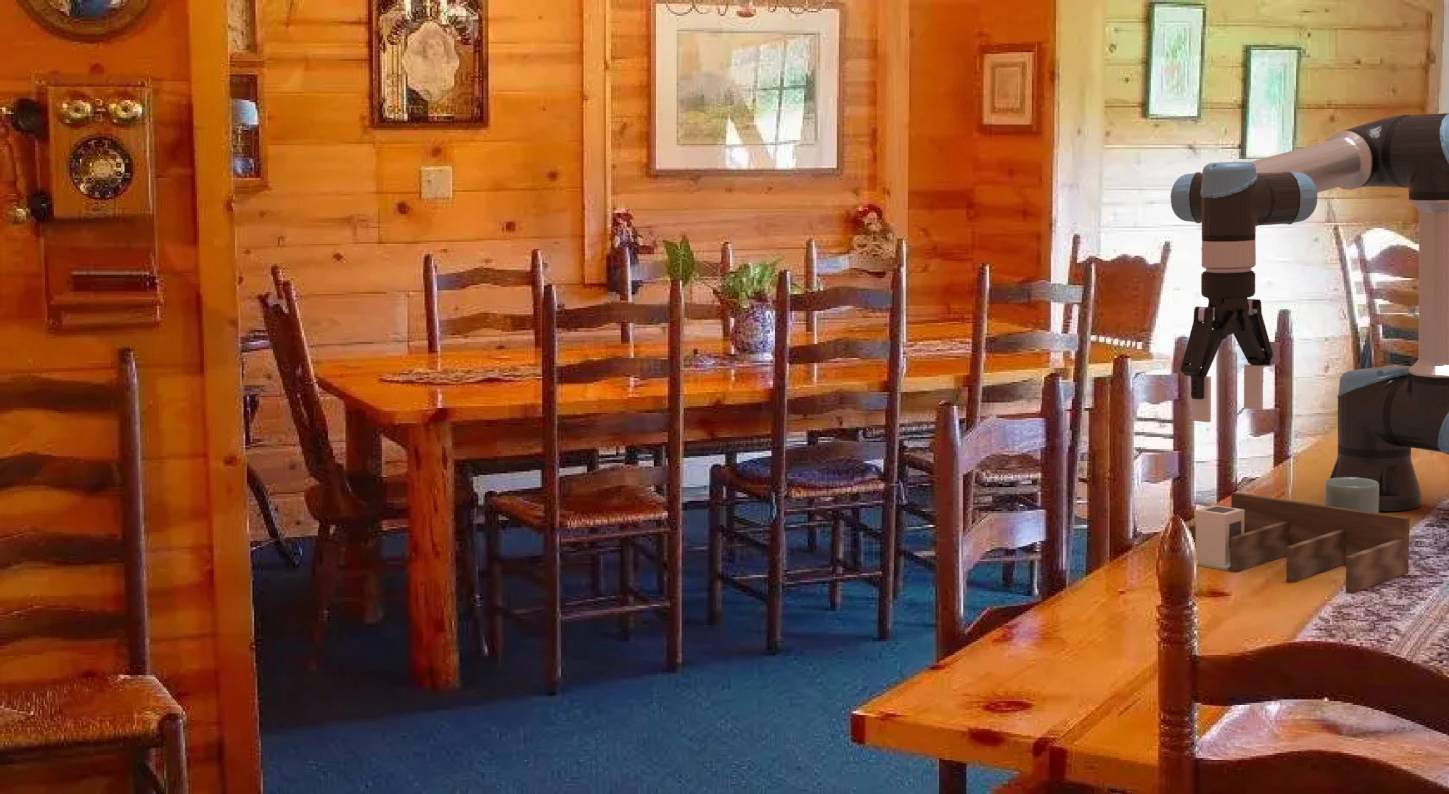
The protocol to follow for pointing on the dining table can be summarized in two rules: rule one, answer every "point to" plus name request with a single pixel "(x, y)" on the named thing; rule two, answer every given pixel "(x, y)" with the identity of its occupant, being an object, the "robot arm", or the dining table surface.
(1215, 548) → the white upright rectangular block
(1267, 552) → the cubby
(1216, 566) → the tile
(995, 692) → the dining table surface
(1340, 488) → the cup
